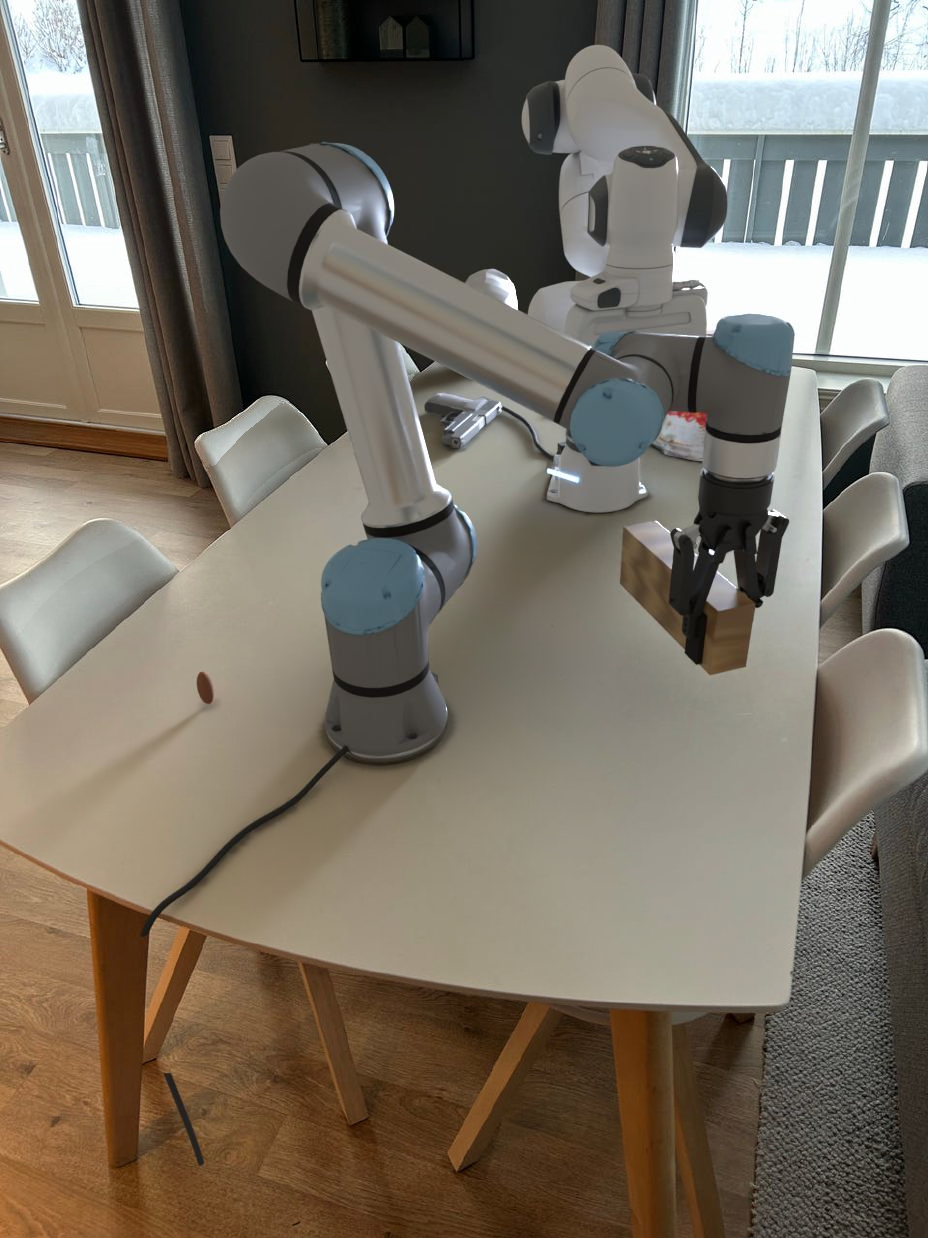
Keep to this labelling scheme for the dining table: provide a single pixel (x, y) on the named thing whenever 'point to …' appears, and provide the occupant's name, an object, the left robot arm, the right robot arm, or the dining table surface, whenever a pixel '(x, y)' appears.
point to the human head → (494, 285)
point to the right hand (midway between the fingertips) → (633, 388)
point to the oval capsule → (205, 687)
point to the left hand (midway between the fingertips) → (713, 653)
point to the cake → (682, 435)
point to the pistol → (462, 416)
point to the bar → (650, 585)
